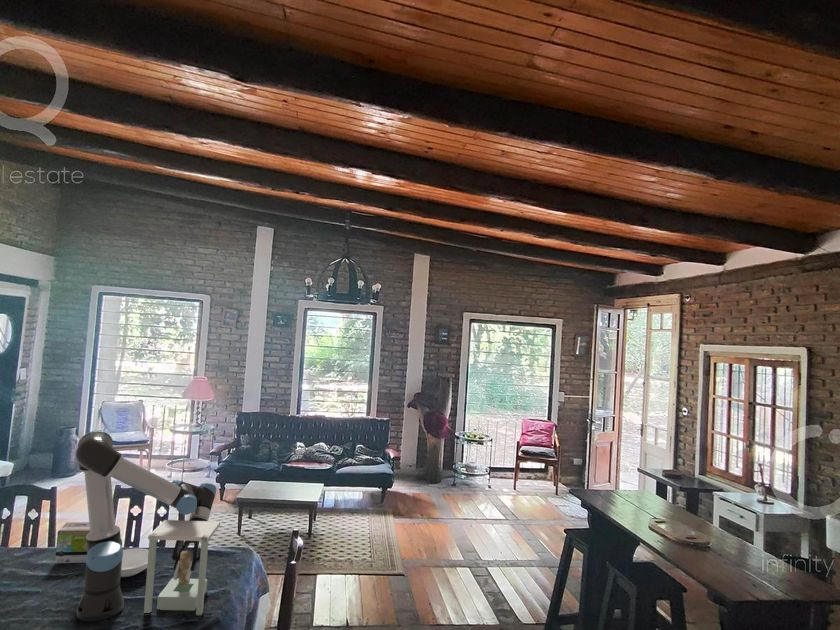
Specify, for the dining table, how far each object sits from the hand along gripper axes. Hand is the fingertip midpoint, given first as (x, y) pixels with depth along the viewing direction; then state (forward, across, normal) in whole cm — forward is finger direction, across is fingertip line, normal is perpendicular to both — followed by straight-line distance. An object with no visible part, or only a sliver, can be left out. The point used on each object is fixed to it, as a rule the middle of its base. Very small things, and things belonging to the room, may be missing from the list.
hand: (181, 579), depth 200 cm
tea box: (-18, +57, -33) cm, 68 cm away
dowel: (0, 0, -5) cm, 5 cm away
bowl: (-9, +30, -24) cm, 40 cm away
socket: (+6, 0, -9) cm, 10 cm away
